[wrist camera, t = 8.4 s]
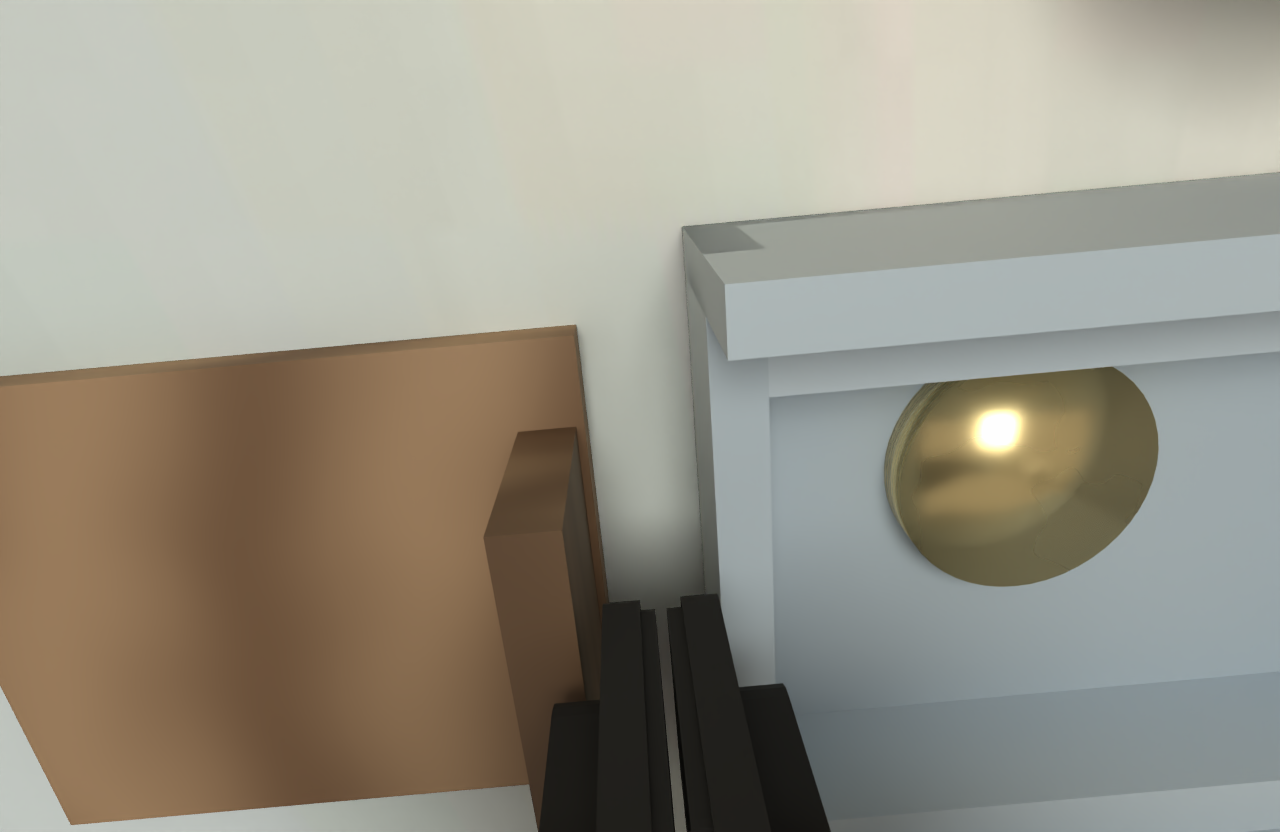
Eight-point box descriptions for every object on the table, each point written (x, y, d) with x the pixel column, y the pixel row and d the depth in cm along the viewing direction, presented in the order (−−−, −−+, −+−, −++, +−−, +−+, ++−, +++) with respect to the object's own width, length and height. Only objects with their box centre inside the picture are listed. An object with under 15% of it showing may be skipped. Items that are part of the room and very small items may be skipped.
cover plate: (577, 318, 13) (558, 410, 9) (625, 732, 16) (629, 948, 12) (-79, 376, 13) (-433, 500, 9) (107, 778, 16) (-76, 1011, 12)
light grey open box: (1531, 149, 12) (2119, 156, 7) (1340, 718, 16) (1631, 952, 12) (682, 226, 12) (724, 284, 7) (716, 775, 16) (756, 1031, 12)
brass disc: (1146, 328, 12) (1180, 340, 12) (1108, 551, 14) (1136, 575, 13) (887, 351, 12) (905, 365, 12) (879, 572, 14) (894, 597, 13)
